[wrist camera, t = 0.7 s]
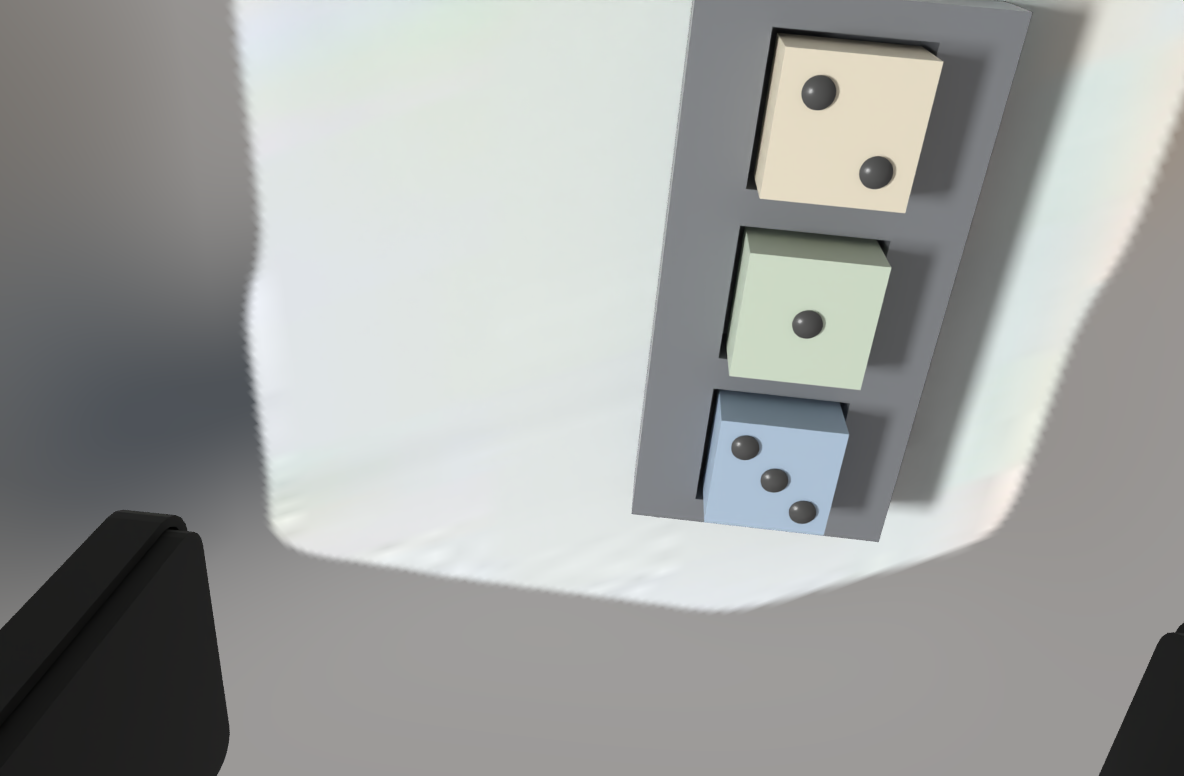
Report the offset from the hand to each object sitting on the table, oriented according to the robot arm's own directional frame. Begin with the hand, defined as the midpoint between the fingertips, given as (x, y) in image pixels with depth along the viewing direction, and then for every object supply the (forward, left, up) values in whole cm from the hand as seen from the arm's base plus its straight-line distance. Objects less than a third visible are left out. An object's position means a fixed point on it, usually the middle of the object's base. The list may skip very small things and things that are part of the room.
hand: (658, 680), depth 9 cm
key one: (+7, +6, -28) cm, 29 cm away
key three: (+14, +6, -28) cm, 32 cm away
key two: (0, +6, -28) cm, 28 cm away
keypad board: (+7, +6, -30) cm, 31 cm away
